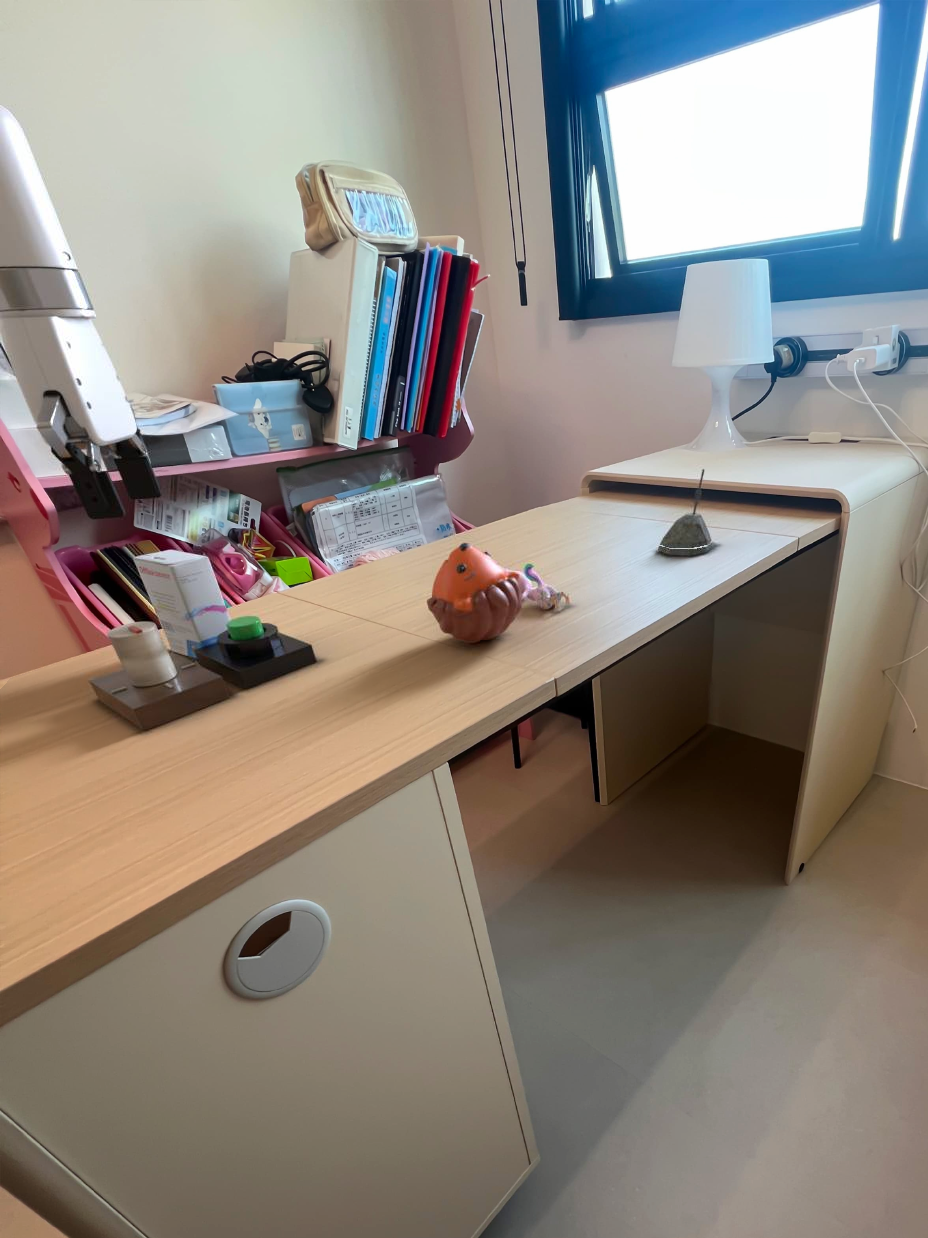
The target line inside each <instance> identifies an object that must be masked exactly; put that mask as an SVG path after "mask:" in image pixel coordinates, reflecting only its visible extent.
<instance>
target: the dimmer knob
mask: <svg viewBox="0 0 928 1238" xmlns="http://www.w3.org/2000/svg"><path fill="white" fill-rule="evenodd" d="M106 635H107V637H108V639H109V642H110V644H111V646H112V648H113V649H114V651H115V654H116V655H117V658H118V659H119V661H120V663H121V666H122V669H124V670H125V672H126V674H127V676H128V678H129V680H130V682H131V684H132V685H134V686H139V687H145V686H152V685H157V684H161V683H164V682H166V681H168V680H170V679H172V678H174V677H175V676H176V675H177V671H176V669H175V666H174V664H173V662H172V660H171V657H170V655H169V654H170V653H169V650H168V648H167V647H166V643H165V642H164V639H163V637H162V635H161V632H160V631H159V629H158V626H157V623H155V622H153V621H136V622H135V621H134V622H129V623H126V624H122V625H119V626H116V627H114V628H112V629H110V630H109V631H108V632H107V633H106Z"/></svg>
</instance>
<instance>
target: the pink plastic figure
mask: <svg viewBox="0 0 928 1238" xmlns="http://www.w3.org/2000/svg"><path fill="white" fill-rule="evenodd" d="M534 567H535V566H534V564H532V563H526V564H525V566H524V569H523V572H521V571H520V570H510V569H507V568H504V567H502V568H503V569H504V570H505V572H506V573H509V572H518V573H519V578H518V581H517V582H518V585H519V587H520V593H521V601H523V602H525V601H526V600H527V598H528V599H529V600H530V601H532V602H536V603H537V605H539V607H540V608H541V609H543V610H549V609H551V608H552V606H554V611H555V613H558V612H557V609H558V610H559V609H560V607H559V604H560V602H561V600H562V597H564V599H565V604H564V605H565V606H567V607H569V605H570V604H571V603H570V598H569V595H570V594H565V592H564V591H558V590H556V588H555V587H553V586H552V585H551V584H546V583H544V582H543V581H542V579H541V577H540V576H539V575H538V573H536V572H535V570H534V569H533V568H534ZM532 582H535V583H536V584H537V586H535V587H533V584H532ZM568 604H569V605H568Z"/></svg>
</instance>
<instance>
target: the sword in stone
mask: <svg viewBox="0 0 928 1238" xmlns="http://www.w3.org/2000/svg"><path fill="white" fill-rule="evenodd" d="M704 475H705V469H704V468H703V469H702V470H701V475H700V479H699V483H698V488H697V489H696V490H695V494H694V498H693V502H694V506H693V510H692V511H693V512H689V513H685V514H684V515H682V516H680V517H679V518H678V519H676V520H675V521H674V523H673V524H672V526H670V528H669V529H668V531H667V532H666V533H665V535H664V536H663V537H662V539H661V542H660V543H659V545H663V546H665V547H662V546H659V545H658V549H657V551H659V552H661V553H664V554H666V555H670V556H688V557H691V556H697V555H703V554H707V553H708V552H709V551H712V550H713V549H714V548H715V547H716V546H717V544H716V543H715V542H713V541H712V536H711V534H710V532H709V529H708V527H707V524H706V522H705V519H704V518H703V516H702V514H701V513H699V512H696V511H697V507H698V505H699V504H700V502H701V498H702V492H701V491H702V490H701V487H702V483H703V478H704ZM711 541H712V543H711V544H710V545H708V544H709V543H710V542H711ZM704 545H708V546H707V547H702V548H697V549H669V548H694V547H700V546H704ZM666 547H669V548H666Z"/></svg>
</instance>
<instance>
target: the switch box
mask: <svg viewBox="0 0 928 1238" xmlns="http://www.w3.org/2000/svg"><path fill="white" fill-rule="evenodd" d="M261 624H262V627H263V630H264V633H263V634H261V635H259V636H256V637H253V638H249V639H243V640H232V639H231V636H230V633H229V631H228V629H227V630H226V631H224V632H223V633H221V634H219V635H218V637H217V642H216V643H213V644H210V645H207V646H204V647H201V648H198V649H195V650H194V652H195V655H196V657H197V659H196V660H197V661H198V665H199V666H201V667H203V668H205V669H207V670H209V671H211V672H213V673H216V674H218V675H220V676H222V678H223V680H224V679H225V680H226V681H228V682H230V683H232V684H235V685H236V686H239V687H241V688H242V689H245V690H248V689H250V688H253V687H256V686H259V685H261V684H263V683H266V682H268V681H271V680H273V679H276V678H278V677H281V676H284V675H286V674H289V673H291V672H293V671H296V670H300V669H301V668H304V667H307V666H310V665H312V664H314V663H317V657H316V655H315V652H314V648H313V645H312V644H311V643H308V642H305V641H303V640H301V639H297V638H294V637H292V636H289V635H288V634H285V633H282V632H280V631H279V629H278V626H277V625H275V624H272V623H270V622H261Z"/></svg>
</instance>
